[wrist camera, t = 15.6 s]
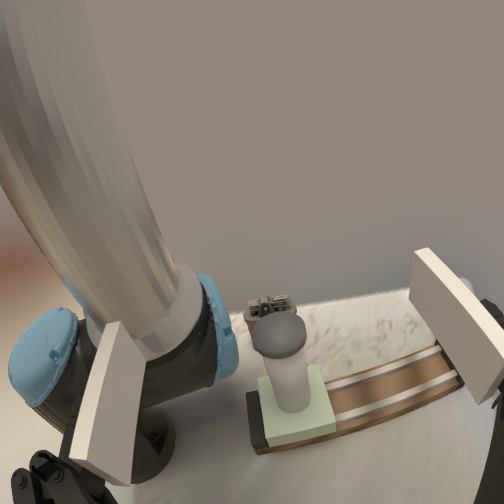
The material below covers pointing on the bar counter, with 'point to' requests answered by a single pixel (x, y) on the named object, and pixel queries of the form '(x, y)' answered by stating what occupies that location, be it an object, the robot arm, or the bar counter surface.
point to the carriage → (290, 383)
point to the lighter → (266, 309)
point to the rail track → (373, 395)
